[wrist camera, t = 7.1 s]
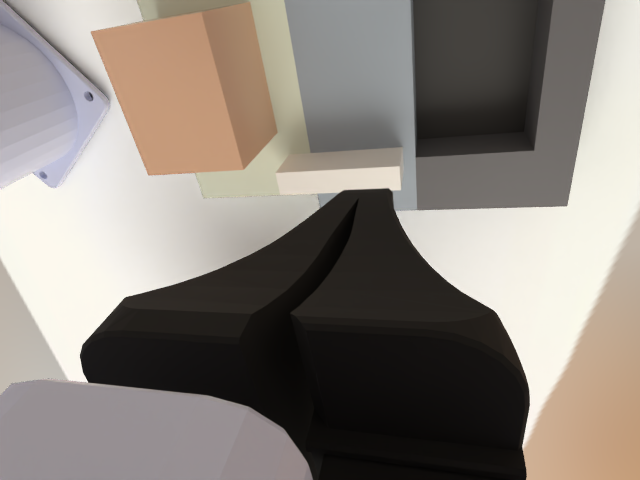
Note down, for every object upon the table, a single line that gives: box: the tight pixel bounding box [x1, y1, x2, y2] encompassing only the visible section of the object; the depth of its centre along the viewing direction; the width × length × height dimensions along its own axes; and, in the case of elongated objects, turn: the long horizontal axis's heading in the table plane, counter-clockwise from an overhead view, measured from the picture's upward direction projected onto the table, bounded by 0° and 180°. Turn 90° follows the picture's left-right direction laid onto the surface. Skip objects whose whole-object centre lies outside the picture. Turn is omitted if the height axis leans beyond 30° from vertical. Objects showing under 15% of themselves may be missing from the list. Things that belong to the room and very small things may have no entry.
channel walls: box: [275, 147, 404, 195], centre depth 15 cm, size 5×9×2 cm, turn 9°
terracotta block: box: [91, 2, 278, 175], centre depth 16 cm, size 4×5×4 cm
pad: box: [137, 0, 310, 198], centre depth 18 cm, size 6×11×2 cm, turn 9°
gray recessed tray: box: [284, 0, 605, 211], centre depth 16 cm, size 10×13×2 cm
